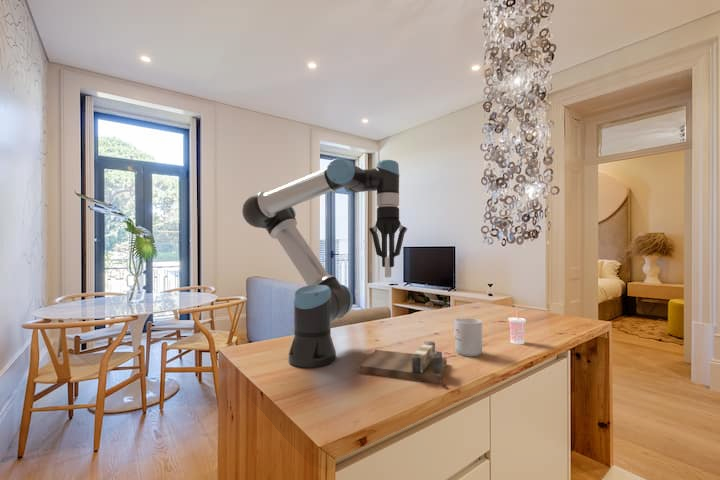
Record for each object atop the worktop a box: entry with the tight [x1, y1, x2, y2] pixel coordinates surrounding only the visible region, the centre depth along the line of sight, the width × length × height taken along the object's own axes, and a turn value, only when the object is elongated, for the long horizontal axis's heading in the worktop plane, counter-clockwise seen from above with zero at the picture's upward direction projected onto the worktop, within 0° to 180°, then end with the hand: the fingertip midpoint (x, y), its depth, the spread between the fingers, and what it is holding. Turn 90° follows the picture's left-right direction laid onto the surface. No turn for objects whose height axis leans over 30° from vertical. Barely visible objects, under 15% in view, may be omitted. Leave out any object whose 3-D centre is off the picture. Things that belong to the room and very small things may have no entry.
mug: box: [453, 317, 483, 358], centre depth 115 cm, size 12×9×11 cm
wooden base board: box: [358, 349, 448, 384], centre depth 99 cm, size 23×16×6 cm
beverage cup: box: [507, 305, 527, 345], centre depth 127 cm, size 6×6×14 cm
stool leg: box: [411, 340, 436, 373], centre depth 97 cm, size 16×3×4 cm, turn 154°
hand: (388, 276), depth 111 cm, fingers closed
